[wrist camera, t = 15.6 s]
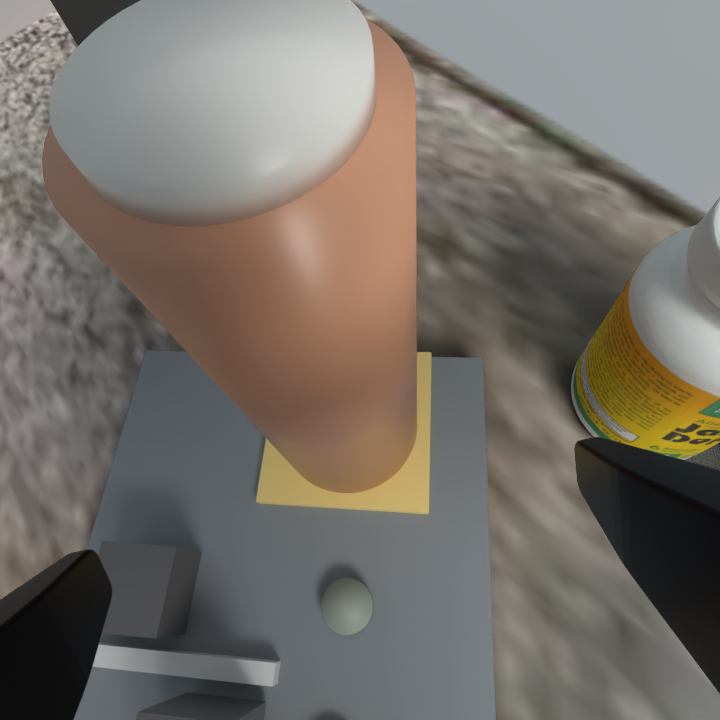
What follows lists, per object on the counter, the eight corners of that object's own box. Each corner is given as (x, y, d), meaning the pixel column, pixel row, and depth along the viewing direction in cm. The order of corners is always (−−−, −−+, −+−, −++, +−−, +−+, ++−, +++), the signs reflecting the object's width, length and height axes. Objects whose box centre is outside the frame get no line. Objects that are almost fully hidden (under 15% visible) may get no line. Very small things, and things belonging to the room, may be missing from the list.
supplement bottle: (653, 318, 21) (822, 114, 12) (749, 430, 18) (1045, 275, 10) (539, 370, 20) (630, 197, 11) (622, 492, 18) (815, 389, 9)
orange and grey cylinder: (375, 520, 17) (260, 294, 4) (256, 452, 18) (-77, 144, 6) (440, 396, 18) (486, -13, 6) (325, 343, 20) (179, -70, 8)
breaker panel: (503, 1141, 12) (531, 1317, 9) (-27, 1026, 13) (-147, 1141, 11) (479, 370, 20) (489, 332, 17) (159, 362, 22) (120, 327, 19)
